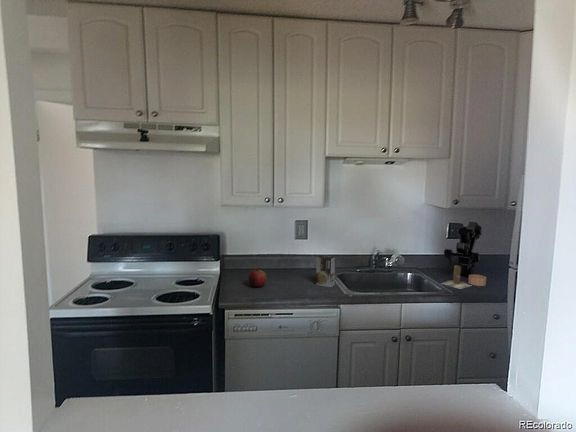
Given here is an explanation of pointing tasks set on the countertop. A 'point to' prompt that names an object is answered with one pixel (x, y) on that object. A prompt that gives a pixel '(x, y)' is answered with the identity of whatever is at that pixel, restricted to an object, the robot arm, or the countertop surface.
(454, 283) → the lid
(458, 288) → the mat
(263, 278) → the fruit
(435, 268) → the countertop surface
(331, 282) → the coffee box
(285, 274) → the countertop surface
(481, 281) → the bowl
